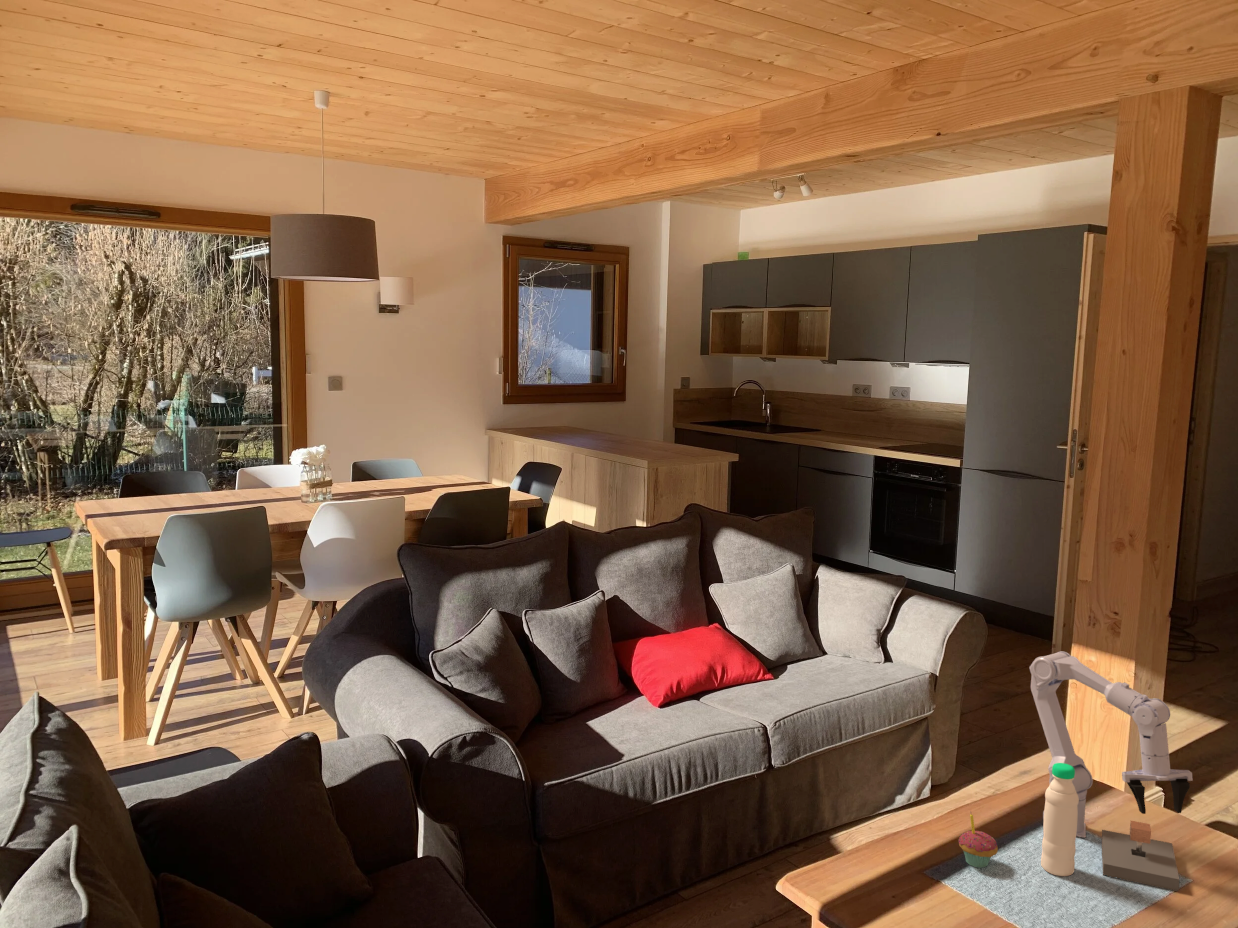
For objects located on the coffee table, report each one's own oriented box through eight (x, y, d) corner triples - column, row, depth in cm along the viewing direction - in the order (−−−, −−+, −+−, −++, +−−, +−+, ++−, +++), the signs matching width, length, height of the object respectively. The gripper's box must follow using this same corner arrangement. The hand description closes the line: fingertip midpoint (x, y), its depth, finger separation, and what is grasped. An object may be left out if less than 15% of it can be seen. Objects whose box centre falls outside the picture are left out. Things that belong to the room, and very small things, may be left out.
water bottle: (1077, 879, 217) (1084, 773, 215) (1044, 875, 219) (1051, 770, 216) (1069, 863, 224) (1076, 760, 222) (1037, 859, 226) (1043, 758, 223)
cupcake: (955, 865, 222) (957, 816, 221) (960, 849, 230) (963, 801, 229) (994, 875, 218) (997, 825, 217) (998, 858, 226) (1001, 810, 225)
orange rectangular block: (1129, 852, 223) (1131, 827, 222) (1128, 845, 226) (1130, 820, 226) (1149, 856, 221) (1151, 831, 220) (1148, 849, 225) (1149, 823, 224)
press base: (1102, 874, 219) (1103, 863, 219) (1101, 840, 235) (1102, 829, 235) (1178, 891, 213) (1179, 879, 212) (1171, 854, 229) (1172, 843, 229)
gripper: (1127, 758, 219) (1133, 818, 219) (1196, 756, 217) (1201, 817, 216) (1116, 750, 226) (1122, 807, 226) (1182, 748, 224) (1188, 806, 223)
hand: (1160, 811), depth 222 cm, fingers open, 7 cm apart
